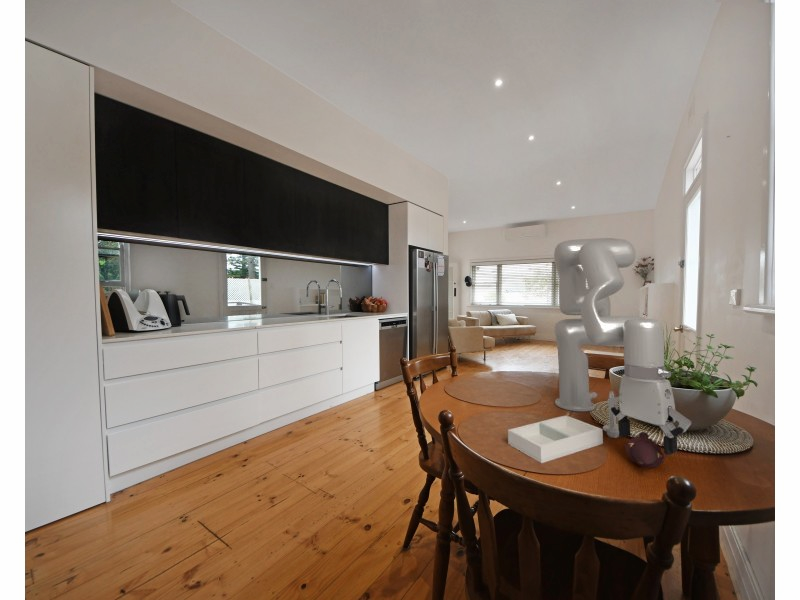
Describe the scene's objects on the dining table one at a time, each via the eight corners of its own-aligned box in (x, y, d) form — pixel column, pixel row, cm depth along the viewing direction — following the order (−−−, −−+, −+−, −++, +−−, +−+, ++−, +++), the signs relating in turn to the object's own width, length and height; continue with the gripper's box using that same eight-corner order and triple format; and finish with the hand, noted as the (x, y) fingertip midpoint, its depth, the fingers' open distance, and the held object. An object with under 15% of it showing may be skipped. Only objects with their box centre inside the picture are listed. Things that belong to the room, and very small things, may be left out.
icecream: (672, 456, 68) (664, 435, 81) (630, 440, 72) (628, 422, 85) (662, 487, 69) (656, 461, 81) (621, 469, 73) (621, 447, 85)
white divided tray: (566, 428, 99) (565, 415, 99) (602, 443, 88) (602, 429, 88) (508, 444, 90) (507, 429, 90) (541, 463, 79) (540, 447, 79)
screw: (615, 432, 95) (627, 439, 90) (599, 432, 95) (610, 440, 90) (614, 388, 95) (625, 393, 90) (597, 388, 95) (608, 393, 90)
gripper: (698, 377, 69) (700, 457, 69) (617, 363, 85) (619, 428, 85) (678, 382, 66) (680, 465, 66) (597, 366, 82) (599, 433, 82)
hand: (646, 444), depth 76 cm, fingers open, 9 cm apart
